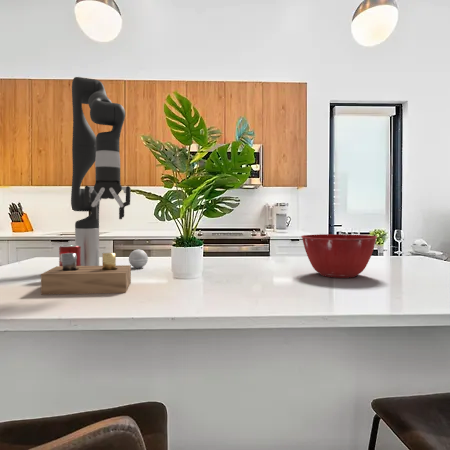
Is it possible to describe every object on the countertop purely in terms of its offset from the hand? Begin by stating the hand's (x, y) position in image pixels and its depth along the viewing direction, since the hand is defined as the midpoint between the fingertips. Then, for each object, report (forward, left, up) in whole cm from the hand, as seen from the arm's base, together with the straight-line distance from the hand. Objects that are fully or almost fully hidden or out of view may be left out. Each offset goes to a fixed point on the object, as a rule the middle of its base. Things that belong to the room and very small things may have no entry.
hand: (108, 219), depth 123 cm
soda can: (-18, -16, -22) cm, 33 cm away
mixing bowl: (-16, +84, -22) cm, 89 cm away
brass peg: (0, 0, -17) cm, 17 cm away
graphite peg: (0, -12, -17) cm, 21 cm away
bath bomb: (-43, +6, -22) cm, 49 cm away
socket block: (0, -6, -22) cm, 23 cm away
